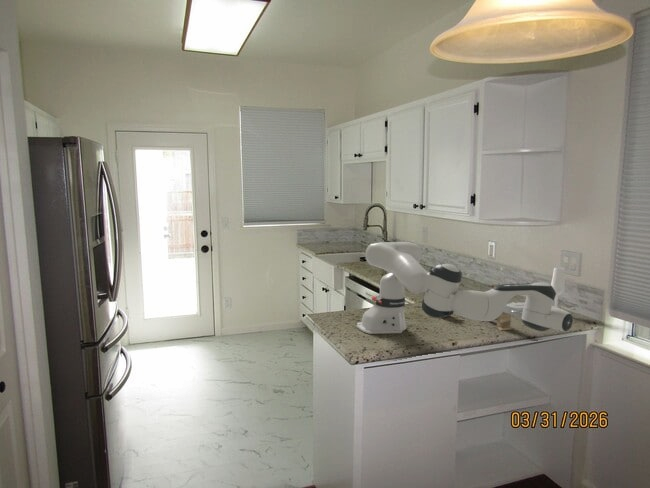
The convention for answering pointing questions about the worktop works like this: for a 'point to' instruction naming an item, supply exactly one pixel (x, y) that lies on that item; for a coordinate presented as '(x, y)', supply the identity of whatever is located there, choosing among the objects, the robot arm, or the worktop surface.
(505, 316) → the stand
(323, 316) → the worktop surface
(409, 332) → the worktop surface
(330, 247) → the worktop surface
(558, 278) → the champagne flute
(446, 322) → the worktop surface
